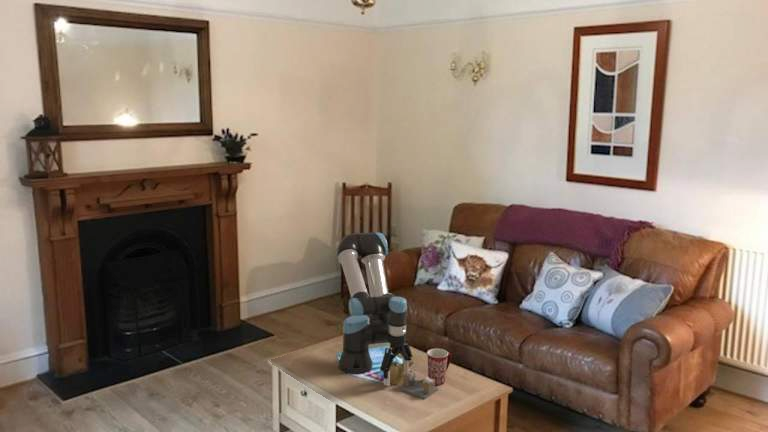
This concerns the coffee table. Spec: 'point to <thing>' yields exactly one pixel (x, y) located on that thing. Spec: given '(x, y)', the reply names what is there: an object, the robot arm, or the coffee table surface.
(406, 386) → the shaft bench
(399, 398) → the coffee table surface
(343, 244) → the robot arm
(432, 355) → the mug
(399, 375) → the coupler
